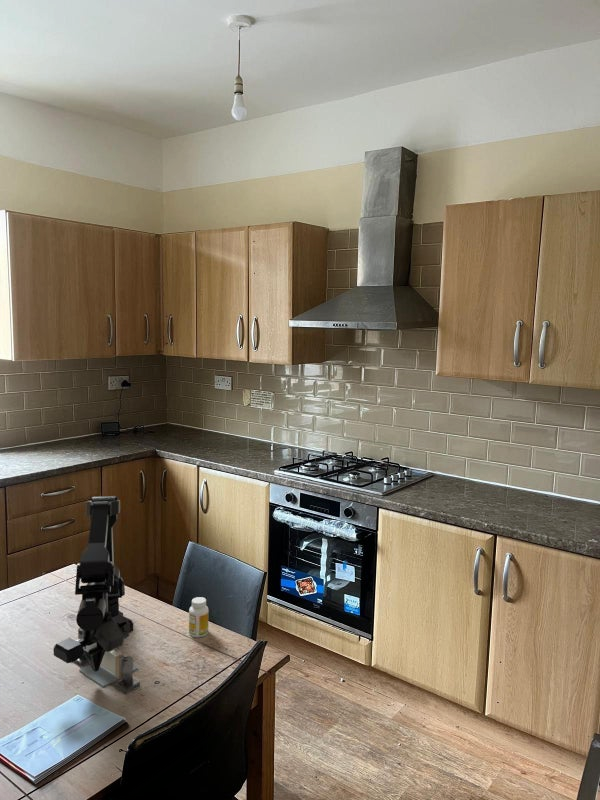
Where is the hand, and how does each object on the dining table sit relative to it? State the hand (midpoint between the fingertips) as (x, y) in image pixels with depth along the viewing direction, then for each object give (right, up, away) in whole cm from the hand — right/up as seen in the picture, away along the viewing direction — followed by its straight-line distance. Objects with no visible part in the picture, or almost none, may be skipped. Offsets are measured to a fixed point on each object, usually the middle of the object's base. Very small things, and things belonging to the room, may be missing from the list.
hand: (95, 670), depth 144 cm
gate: (+1, -1, +4) cm, 5 cm away
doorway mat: (+1, -2, +5) cm, 6 cm away
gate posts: (+1, -2, +5) cm, 5 cm away
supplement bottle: (+20, -1, +25) cm, 32 cm away
